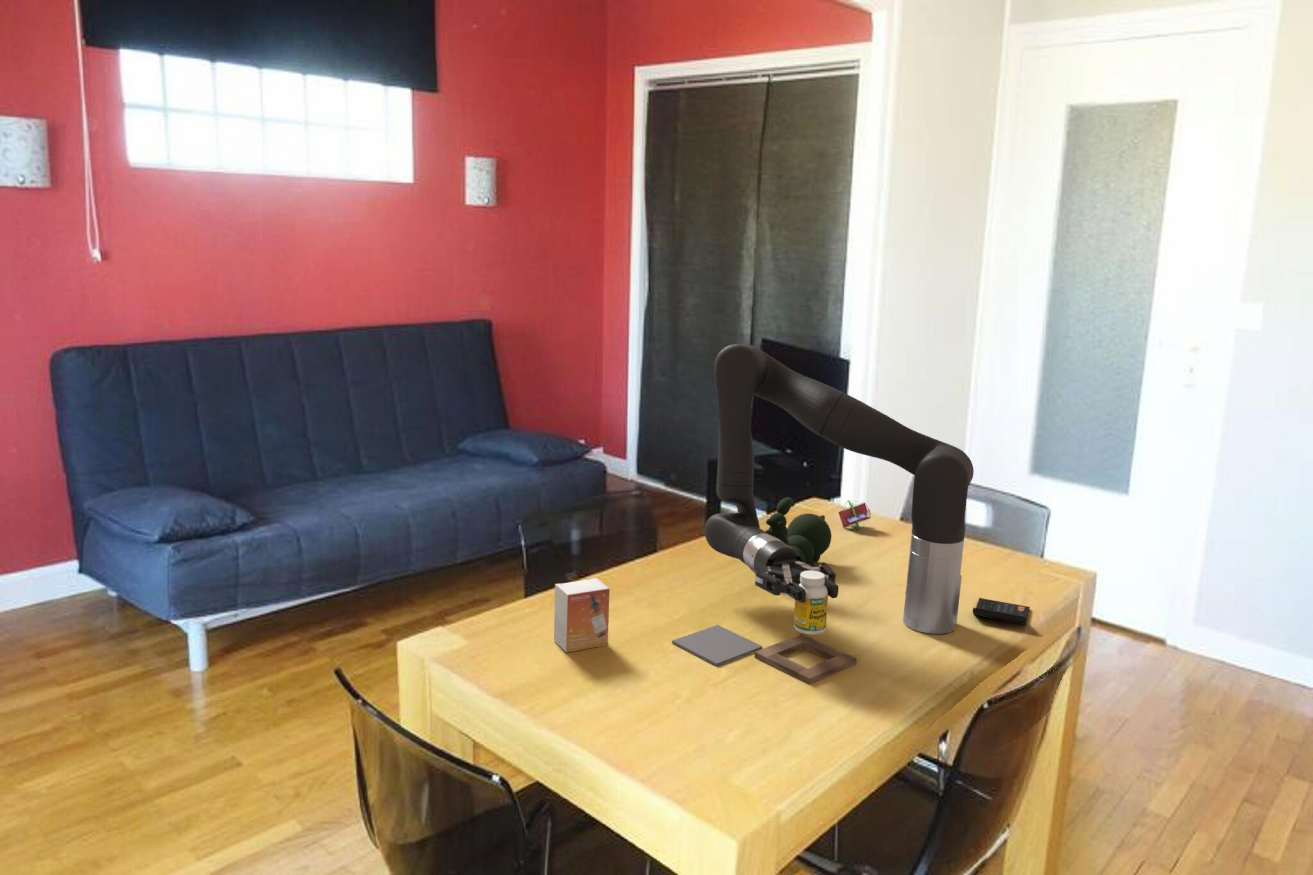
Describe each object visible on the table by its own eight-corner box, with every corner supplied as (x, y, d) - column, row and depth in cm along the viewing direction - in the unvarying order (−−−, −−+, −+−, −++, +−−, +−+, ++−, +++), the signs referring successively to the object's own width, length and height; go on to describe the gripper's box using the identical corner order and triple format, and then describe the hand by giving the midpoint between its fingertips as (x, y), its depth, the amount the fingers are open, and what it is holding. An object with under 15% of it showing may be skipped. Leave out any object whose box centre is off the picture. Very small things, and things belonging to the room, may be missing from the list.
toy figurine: (793, 600, 196) (842, 555, 216) (796, 511, 191) (846, 473, 211) (750, 589, 201) (803, 546, 221) (752, 502, 196) (805, 466, 215)
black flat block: (1029, 610, 192) (1031, 596, 191) (1024, 633, 181) (1026, 618, 181) (978, 601, 195) (980, 587, 195) (971, 623, 185) (973, 608, 184)
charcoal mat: (717, 627, 179) (717, 624, 178) (762, 648, 171) (762, 646, 170) (671, 643, 171) (672, 640, 171) (716, 666, 163) (716, 663, 163)
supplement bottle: (810, 619, 169) (814, 566, 167) (832, 630, 165) (836, 576, 162) (786, 626, 166) (789, 572, 164) (808, 638, 162) (811, 582, 159)
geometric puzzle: (835, 523, 233) (858, 498, 232) (828, 514, 239) (850, 489, 238) (858, 541, 234) (880, 515, 233) (850, 531, 241) (871, 506, 240)
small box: (565, 653, 166) (566, 595, 164) (553, 640, 171) (553, 583, 169) (609, 645, 170) (610, 588, 167) (595, 633, 175) (596, 576, 172)
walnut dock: (801, 639, 175) (801, 633, 175) (856, 663, 166) (856, 658, 166) (754, 657, 167) (754, 651, 167) (809, 684, 158) (809, 678, 158)
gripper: (736, 544, 173) (782, 578, 158) (808, 535, 178) (859, 568, 163) (734, 584, 175) (779, 622, 160) (806, 575, 180) (856, 610, 165)
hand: (819, 594), depth 161 cm, fingers closed on supplement bottle, 5 cm apart
